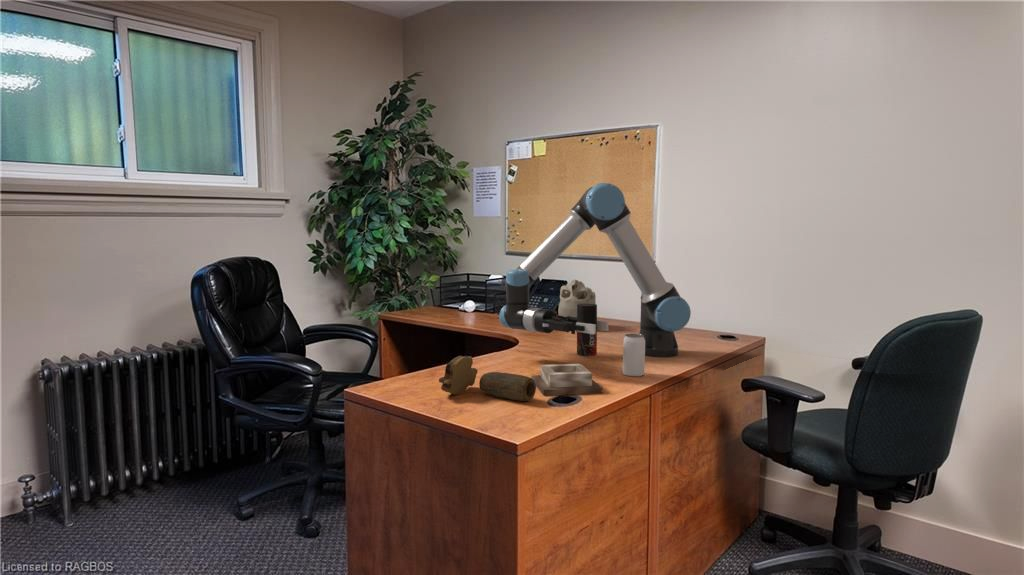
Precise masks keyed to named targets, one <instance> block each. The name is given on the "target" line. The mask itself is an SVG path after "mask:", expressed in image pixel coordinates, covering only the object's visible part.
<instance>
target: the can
mask: <svg viewBox="0 0 1024 575" xmlns="http://www.w3.org/2000/svg"><path fill="white" fill-rule="evenodd" d="M622 342H623V343H622V344H623V346H622V347H623V349H622V375H624V374H625V375H624V376H626V375H628V376H627V377H630V376H640V377H643V376H644V375H645V371H646V370H645V366H646V365H645V364H646V362H645V361H646V355H645V339H644V335H641V334H639V333H625V335H624V338H623V341H622ZM642 375H643V376H642Z"/></svg>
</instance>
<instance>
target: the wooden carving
mask: <svg viewBox="0 0 1024 575" xmlns="http://www.w3.org/2000/svg"><path fill="white" fill-rule="evenodd" d="M473 363H474V362H473V357H472V356H469V355H464V356H463V355H458V356H456V357H454V358H452V360H450V361H449V362H447V364H446V365H445V369H444V375H443V376H442V377H440V378H439V379H438V382H439V383H441V384H442V385H441V387H440V389H441V390H442V391H443V392H446V393H450V394H452V395H455V396H457V395H458V394H459V395H461V394H462V392H463V393H464V392H465V391H466V390H467V388H469V386H470V387H472V386H474V384H475V382H476V377H477V374H478V369H477V368H476V367H473ZM460 393H461V394H460Z"/></svg>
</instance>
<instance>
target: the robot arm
mask: <svg viewBox="0 0 1024 575" xmlns="http://www.w3.org/2000/svg"><path fill="white" fill-rule="evenodd" d="M631 214H632V213H631V211H630V209H629V207H628V206H627V204H626V200H625V195H624V193H623V191H622V190H621V189H620V188H619V187H618V186H617V185H615V184H613V183H609V182H600V183H597V184H595V185H594V186H592V187H589V188H588V189H587V190H586V191H585V192H584V193H583V194H582V195H581V197H580V199H579V200H578V201H577V202H576V203H575V205H573V207H572V208H571V209H570V210H569V215H568V216H567V217H566V218H565V219H564V220H563V221H562V222H561V223H560V224H559V225H558V226H557V227H556V228H555V229H554V230H553V231H552V232H551V233H550V234H549V235H548V236H547V237H545V239H544V240H543V241H542V242H541V243H540V244H539V245H538V246H537V247H536V248H535V249H534V250H533V252H531V253H530V254H529V255H527V257H526V258H525V259H524V260H523V261H522V263H520V264H519V265H518V267H516V268H515V269H509V270H507V271H506V273H505V274H506V276H505V283H504V284H505V285H504V286H505V289H506V290H505V292H506V302H505V303H506V304H505V305H503V307H502V308H501V309H500V312H499V314H498V317H499V318H498V319H499V322H500V324H501V325H502V326H503V327H505V328H510V329H512V330H523V331H530V332H532V333H533V334H535V333H537V332H539V333H542V334H551V333H553V331H557V332H563V333H570V332H571V335H575V334H576V333H577V332H582V333H589V334H596V325H595V324H586V323H578V322H577V317H571V316H567V317H564V316H560V315H559V314H558V315H557V314H556V312H555V311H554V310H553V309H547V308H541V307H530V286H531V285H532V284H533V283H534V282H535V281H536V280H537V279H538V278H539V277H540V276H541V275H542V274H543V273H544V272H545V271H546V270H547V269H548V268H549V267H550V266H552V264H553V263H554V262H555V261H556V260H557V259H558V258H559V257H560V256H561V255H562V254H563V253H564V252H565V251H566V250H567V249H568V248H569V247H570V246H571V245H572V244H573V243H574V242H575V241H576V240H577V239H578V238H579V237H580V236H581V235H582V234H583V233H584V232H585V231H587V230H588V231H590V230H591V229H592V228H593V227H594V226H596V228H597V230H598V232H600V233H604V234H606V235H607V237H608V239H609V240H610V242H611V244H612V246H613V247H614V249H615V250H616V252H617V253H618V256H619V257H620V258H621V260H622V262H623V263H624V265H625V267H626V268H627V271H628V272H629V274H630V276H631V277H632V279H633V281H634V282H635V284H636V285H637V287H638V289H639V290H640V292H641V295H640V326H639V327H640V328H639V329H640V330H639V332H638V334H641V335H644V339H645V356H647V355H648V357H649V356H650V357H659V356H665V357H672V356H671V355H675V356H677V355H679V345H678V341H677V338H676V335H675V332H677V331H680V330H682V329H683V328H684V327H686V325H688V323H689V321H690V318H691V314H692V313H691V312H692V311H691V308H690V305H689V303H688V302H687V301H686V299H684V298H683V297H682V296H681V294H680V293H679V291H678V290H677V288H676V287H675V285H674V284H673V283H671V282H667V281H666V279H665V277H664V276H663V274H662V272H661V270H660V269H659V267H658V265H657V264H656V262H655V261H654V259H653V257H652V256H651V254H650V252H649V251H648V249H647V247H646V245H645V244H644V242H643V241H642V238H641V236H640V235H639V234H638V232H637V231H636V229H635V227H634V225H633V224H632V222H631V220H630V219H631V218H630V217H631ZM597 331H602V332H609V321H604V320H597ZM676 354H677V355H676Z"/></svg>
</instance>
